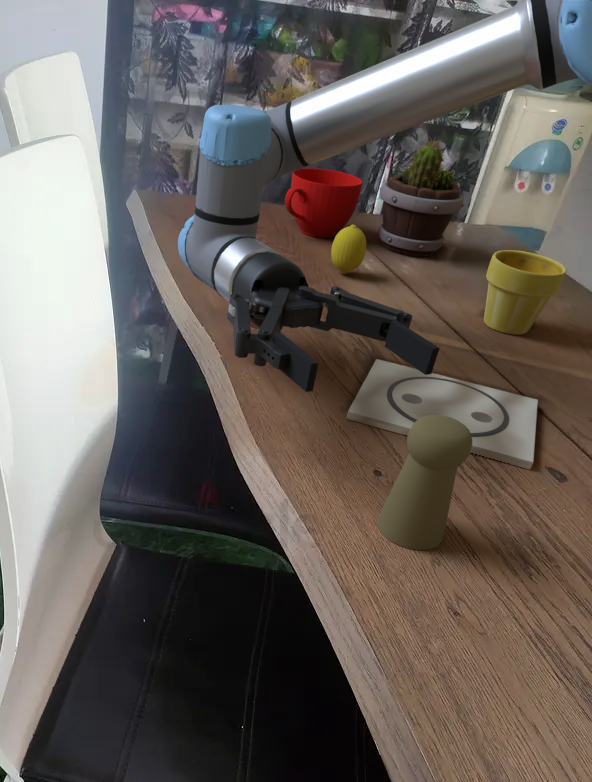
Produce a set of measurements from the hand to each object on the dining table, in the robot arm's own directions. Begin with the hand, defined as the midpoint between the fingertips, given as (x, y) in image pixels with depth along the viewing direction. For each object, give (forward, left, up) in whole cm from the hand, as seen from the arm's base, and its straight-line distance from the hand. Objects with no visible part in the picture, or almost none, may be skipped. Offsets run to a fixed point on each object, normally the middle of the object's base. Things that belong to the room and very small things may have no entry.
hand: (375, 369), depth 67 cm
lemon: (+15, -60, -11) cm, 62 cm away
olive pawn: (-7, +6, -11) cm, 15 cm away
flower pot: (-12, -53, -11) cm, 55 cm away
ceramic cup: (+26, -79, -11) cm, 83 cm away
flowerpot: (+8, -83, -11) cm, 84 cm away
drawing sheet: (-7, -19, -11) cm, 23 cm away
